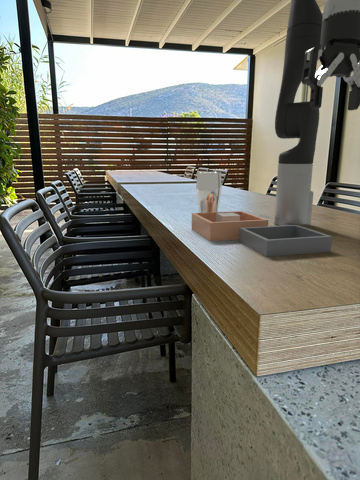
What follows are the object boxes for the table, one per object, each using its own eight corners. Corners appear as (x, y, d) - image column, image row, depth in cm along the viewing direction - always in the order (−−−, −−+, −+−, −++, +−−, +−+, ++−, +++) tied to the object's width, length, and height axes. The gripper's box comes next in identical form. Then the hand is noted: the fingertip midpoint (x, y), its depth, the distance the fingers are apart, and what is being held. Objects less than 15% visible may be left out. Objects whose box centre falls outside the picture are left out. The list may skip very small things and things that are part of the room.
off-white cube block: (232, 230, 84) (232, 212, 83) (239, 234, 80) (240, 215, 79) (215, 231, 83) (215, 213, 82) (221, 235, 79) (222, 216, 78)
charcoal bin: (294, 241, 77) (296, 224, 76) (330, 256, 65) (332, 236, 64) (238, 245, 73) (239, 227, 72) (265, 261, 62) (267, 240, 61)
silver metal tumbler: (219, 228, 91) (220, 172, 87) (194, 227, 92) (194, 172, 89) (221, 224, 98) (222, 171, 94) (197, 223, 99) (198, 171, 95)
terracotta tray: (241, 229, 90) (241, 211, 89) (266, 241, 77) (268, 220, 76) (191, 232, 87) (191, 213, 86) (209, 245, 74) (210, 222, 72)
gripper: (360, 28, 67) (350, 113, 71) (298, 20, 64) (291, 110, 68) (392, 12, 60) (379, 108, 64) (324, 3, 57) (315, 105, 61)
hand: (334, 109), depth 66 cm, fingers open, 8 cm apart
